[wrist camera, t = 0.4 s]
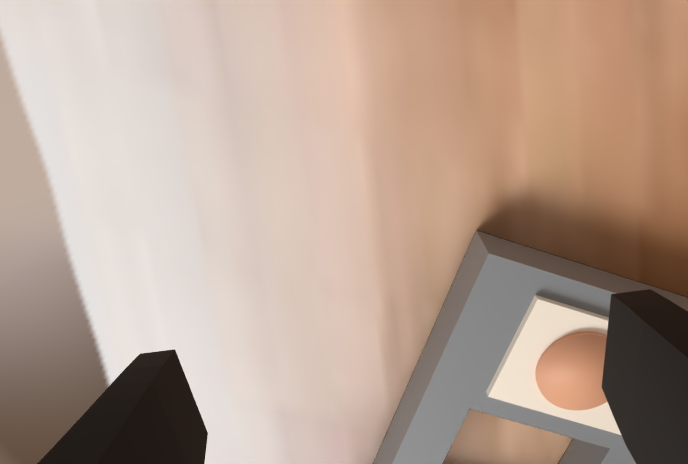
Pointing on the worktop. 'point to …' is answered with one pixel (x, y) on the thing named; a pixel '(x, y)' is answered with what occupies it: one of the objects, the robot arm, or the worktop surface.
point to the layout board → (516, 355)
